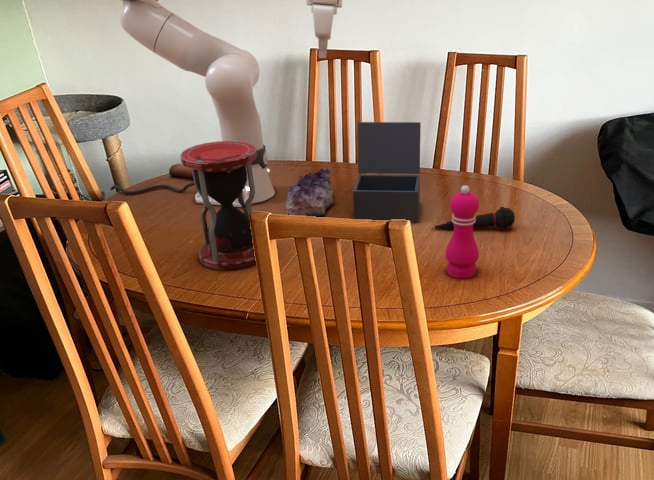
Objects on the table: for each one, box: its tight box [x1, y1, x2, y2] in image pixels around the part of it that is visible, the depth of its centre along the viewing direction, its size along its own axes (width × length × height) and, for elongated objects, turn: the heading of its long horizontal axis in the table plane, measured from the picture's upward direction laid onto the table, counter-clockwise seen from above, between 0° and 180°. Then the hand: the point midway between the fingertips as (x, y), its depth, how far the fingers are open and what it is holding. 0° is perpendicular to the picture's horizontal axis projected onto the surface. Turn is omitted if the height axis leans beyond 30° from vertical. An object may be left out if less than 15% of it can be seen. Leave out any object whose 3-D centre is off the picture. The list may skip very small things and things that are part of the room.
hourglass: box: [179, 140, 257, 271], centre depth 140 cm, size 16×16×25 cm
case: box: [352, 174, 421, 223], centre depth 164 cm, size 13×17×8 cm
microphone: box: [434, 206, 516, 231], centre depth 155 cm, size 6×6×20 cm
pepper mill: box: [444, 184, 480, 279], centre depth 131 cm, size 7×7×20 cm
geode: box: [285, 168, 335, 217], centre depth 169 cm, size 20×12×10 cm, turn 169°
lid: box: [357, 121, 422, 175], centre depth 165 cm, size 13×17×1 cm
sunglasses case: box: [168, 163, 194, 179], centre depth 193 cm, size 18×7×7 cm, turn 66°
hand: (322, 58), depth 158 cm, fingers open, 8 cm apart
